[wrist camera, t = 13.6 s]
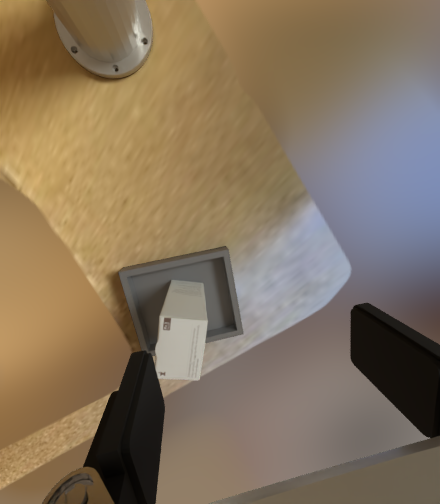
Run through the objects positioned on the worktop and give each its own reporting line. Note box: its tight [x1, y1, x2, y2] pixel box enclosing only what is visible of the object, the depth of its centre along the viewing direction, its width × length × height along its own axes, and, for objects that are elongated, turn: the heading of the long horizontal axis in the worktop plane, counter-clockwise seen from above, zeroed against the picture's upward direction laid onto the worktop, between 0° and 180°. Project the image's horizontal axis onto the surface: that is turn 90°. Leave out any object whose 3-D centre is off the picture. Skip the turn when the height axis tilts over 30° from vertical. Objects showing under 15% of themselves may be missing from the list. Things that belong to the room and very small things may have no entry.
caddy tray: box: [118, 246, 243, 356], centre depth 40 cm, size 16×18×3 cm
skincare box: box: [155, 280, 208, 380], centre depth 34 cm, size 8×6×15 cm
